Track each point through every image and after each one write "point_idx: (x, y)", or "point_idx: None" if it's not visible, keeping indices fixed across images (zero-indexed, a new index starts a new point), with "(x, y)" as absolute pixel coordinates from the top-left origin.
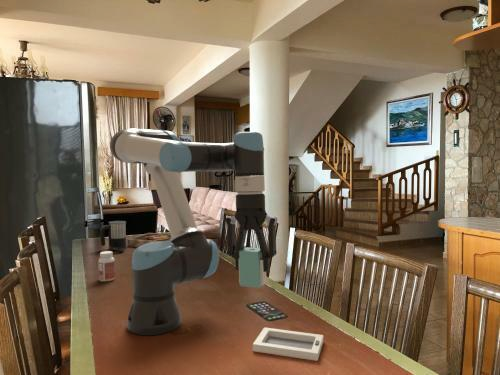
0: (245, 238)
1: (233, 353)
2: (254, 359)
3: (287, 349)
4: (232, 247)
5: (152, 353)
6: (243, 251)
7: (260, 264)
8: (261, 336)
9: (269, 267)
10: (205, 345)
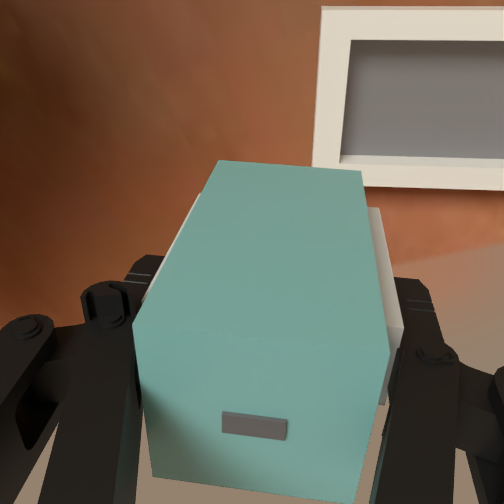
0: (115, 499)
1: None
2: None
3: (446, 187)
4: (39, 447)
5: (24, 260)
6: (198, 479)
7: None
8: (329, 113)
9: (429, 299)
10: (136, 177)
